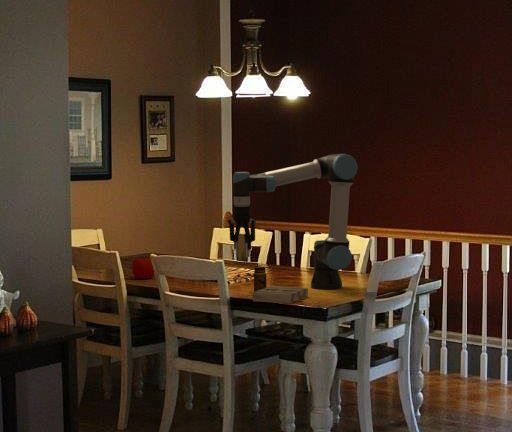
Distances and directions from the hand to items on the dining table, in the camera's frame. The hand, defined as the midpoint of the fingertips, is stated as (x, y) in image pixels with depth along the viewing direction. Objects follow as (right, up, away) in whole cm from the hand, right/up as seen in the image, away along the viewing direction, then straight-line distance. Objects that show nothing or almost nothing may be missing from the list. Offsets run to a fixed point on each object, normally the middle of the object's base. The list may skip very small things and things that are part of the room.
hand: (242, 256), depth 455 cm
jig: (+17, -19, -7) cm, 27 cm away
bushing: (0, -2, 0) cm, 2 cm away
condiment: (+7, -18, +14) cm, 23 cm away
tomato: (-52, -14, +65) cm, 84 cm away
